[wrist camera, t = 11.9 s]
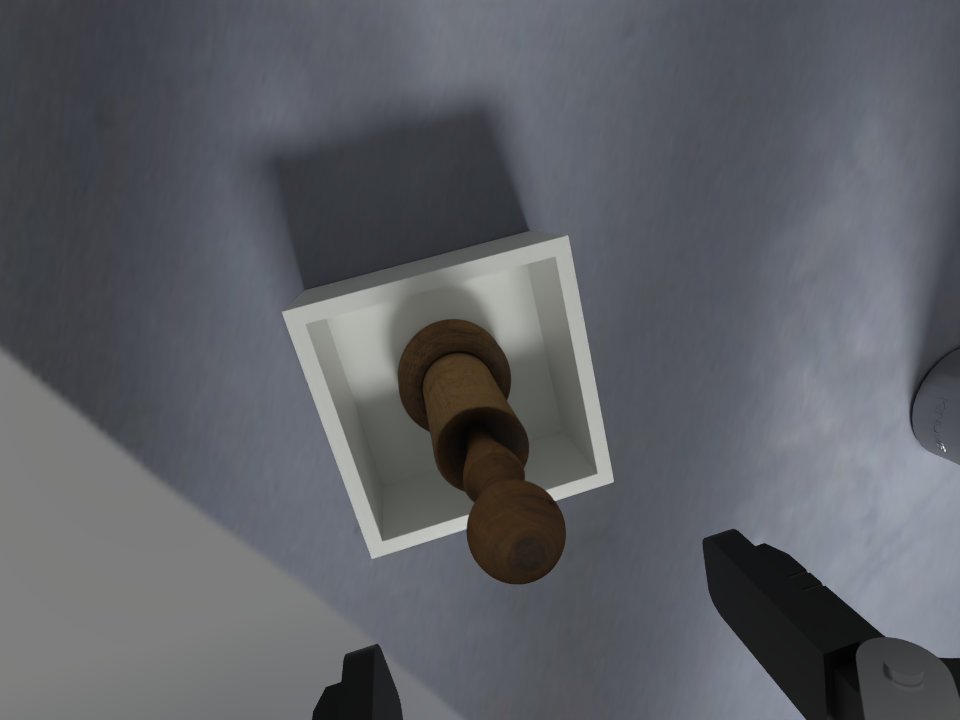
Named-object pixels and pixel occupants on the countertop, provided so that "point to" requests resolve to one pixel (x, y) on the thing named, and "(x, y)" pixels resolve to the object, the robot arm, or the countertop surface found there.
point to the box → (374, 377)
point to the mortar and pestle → (481, 447)
